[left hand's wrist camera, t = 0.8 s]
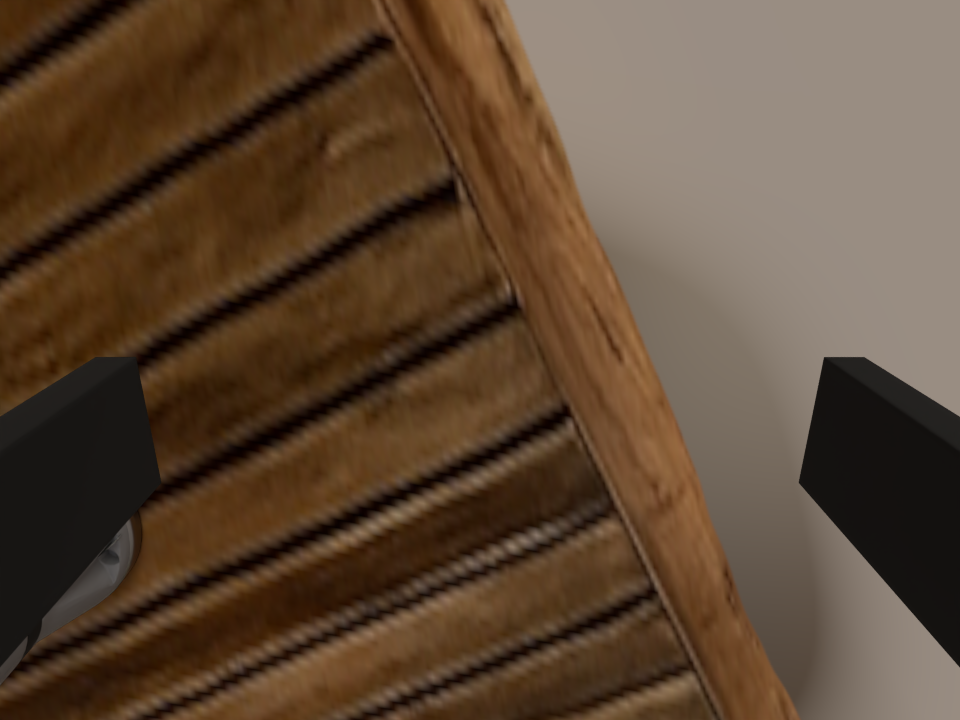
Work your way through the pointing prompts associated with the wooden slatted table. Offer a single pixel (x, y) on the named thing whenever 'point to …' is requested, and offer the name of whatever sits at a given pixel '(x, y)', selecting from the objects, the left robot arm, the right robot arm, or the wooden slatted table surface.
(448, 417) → the wooden slatted table surface
